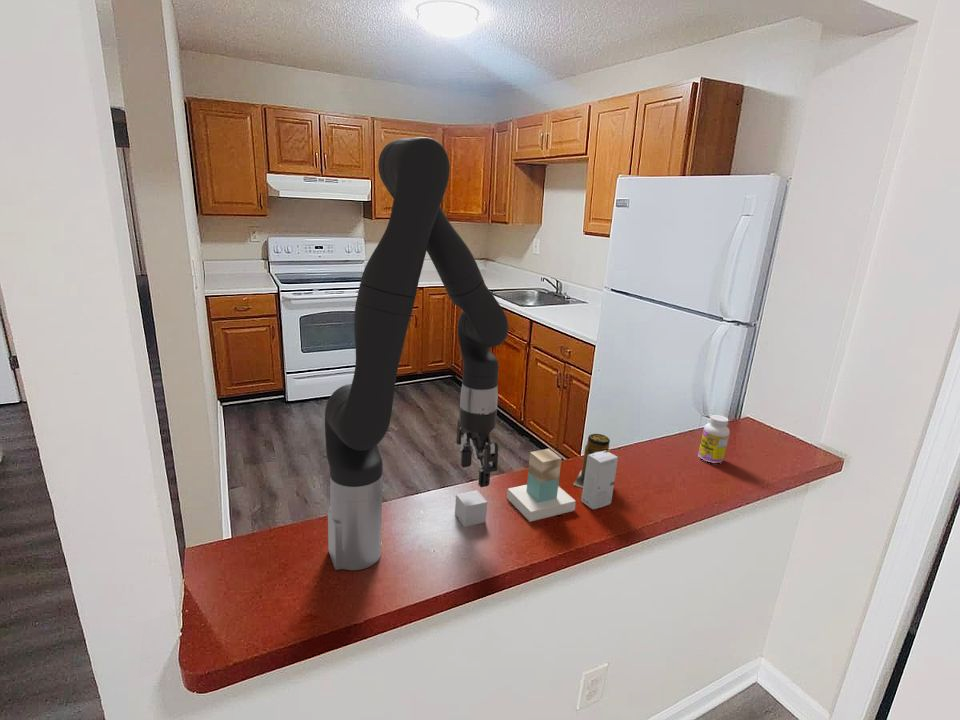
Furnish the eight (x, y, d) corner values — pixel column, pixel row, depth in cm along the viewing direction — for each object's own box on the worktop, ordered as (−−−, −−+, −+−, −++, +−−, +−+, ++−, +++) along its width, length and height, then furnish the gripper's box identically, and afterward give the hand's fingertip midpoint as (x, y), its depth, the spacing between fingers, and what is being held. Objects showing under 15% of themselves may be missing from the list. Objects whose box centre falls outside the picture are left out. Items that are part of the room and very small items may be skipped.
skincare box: (593, 510, 120) (600, 463, 116) (579, 501, 124) (586, 454, 120) (612, 503, 123) (619, 457, 120) (598, 494, 127) (605, 449, 123)
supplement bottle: (692, 454, 151) (701, 413, 148) (711, 453, 153) (720, 412, 150) (708, 466, 145) (718, 423, 142) (728, 464, 147) (737, 422, 144)
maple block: (540, 482, 116) (542, 462, 114) (528, 471, 120) (530, 452, 118) (559, 478, 118) (561, 458, 116) (546, 468, 122) (548, 448, 121)
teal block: (538, 502, 117) (540, 482, 116) (526, 491, 121) (528, 471, 120) (556, 498, 119) (559, 478, 118) (544, 487, 123) (546, 468, 122)
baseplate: (529, 521, 114) (530, 511, 113) (506, 498, 122) (507, 488, 122) (574, 510, 120) (575, 500, 119) (549, 488, 128) (550, 479, 127)
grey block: (464, 527, 111) (465, 506, 109) (454, 514, 115) (456, 494, 113) (485, 522, 113) (487, 501, 111) (475, 509, 117) (476, 490, 116)
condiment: (608, 478, 135) (615, 435, 131) (602, 493, 127) (609, 449, 124) (580, 471, 138) (586, 429, 134) (572, 485, 130) (579, 441, 127)
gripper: (447, 394, 110) (444, 463, 115) (477, 421, 98) (473, 496, 103) (479, 390, 114) (475, 457, 119) (512, 415, 102) (506, 489, 107)
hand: (474, 475), depth 111 cm, fingers open, 8 cm apart
